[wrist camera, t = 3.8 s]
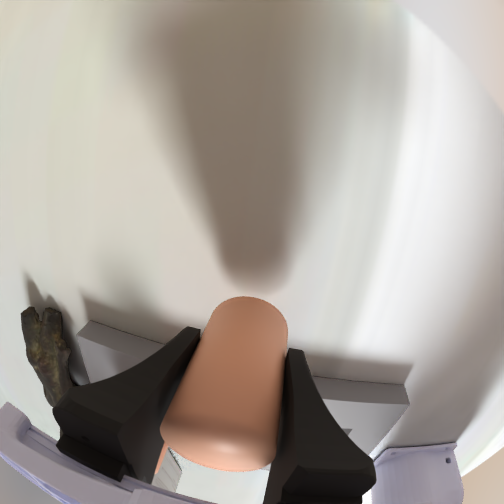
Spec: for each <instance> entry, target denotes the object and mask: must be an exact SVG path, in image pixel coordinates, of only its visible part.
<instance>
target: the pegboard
mask: <svg viewBox="0 0 504 504" xmlns="http://www.w3.org/2000/svg"><path fill="white" fill-rule="evenodd" d="M77 339H78V343H79V347H80V350H81V354H82V358H83V361H84V364H85V368H86V371H87V374H88V377H89V380H90V384H91V383H94V382H98V381H101V380H104V379H107V378H109V377H112V376H114V375H117V374H119V373H121V372H123V371H125V370H127V369H129V368H131V367H133V366H135V365H137V364H138V363H140V362H142V361H143V360H145V359H146V358H148V357H149V356H151V355H152V354H154V353H155V352H157V351H158V350H159V349H161V348H162V347H163V346H164V345H165V344H161V343H158V342H154V341H151V340H148V339H144V338H141V337H138V336H135V335H132V334H128V333H125V332H122V331H119V330H116V329H113V328H111V327H108V326H105V325H102V324H99V323H96V322H94V321H91V320H90V321H89V322H88V323H87V324H86V325H85V326H84V328H83V329H82V330H81V331H80V332H79V333H78V334H77ZM312 378H313V380H314V383H315V385H316V387H317V389H318V391H319V393H320V395H321V397H322V399H323V401H324V403H325V405H326V406H327V408H328V410H329V411H330V413H331V414H332V416H333V417H334V419H335V420H336V422H337V423H338V424H339V426H340V427H341V428H342V429H343V431H344V432H345V433H346V434H347V435H348V437H349V438H350V439H351V440H352V441H353V442H354V443H355V444H356V445H357V446H358V447H359V448H360V449H361V450H362V451H364V452H365V453H366V454H367V455H369V454H370V453H371V452H372V451H373V449H374V448H375V447H376V446H377V445H378V444H379V443H380V441H381V440H382V439H383V438H384V437H385V436H386V434H387V433H388V432H389V431H390V430H391V428H392V427H393V426H394V425H395V423H396V422H397V421H398V420H399V418H400V417H401V416H402V414H403V413H404V412H405V410H406V409H407V408H408V406H409V405H410V403H409V400H408V396H407V393H406V390H405V386H404V385H398V384H382V383H370V382H359V381H349V380H340V379H331V378H323V377H316V376H312ZM168 448H170V447H169V446H168ZM270 467H271V463H270V464H269V465H267V466H266V467H263V468H261V469H262V470H268V471H270Z"/></svg>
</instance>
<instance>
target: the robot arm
mask: <svg viewBox="0 0 504 504" xmlns="http://www.w3.org/2000/svg"><path fill="white" fill-rule="evenodd" d="M200 330H201V329H196V328H192V327H186V328H185V329H183V330H182V331H181V332H180V333H179V334H178V335H177V336H176V337H174V338H173V339H172V340H171V341H170V342H168V343H167V344H166V345H164V346H163V347H162V348H161V349H159V350H158V351H157V352H155V353H154V354H152V355H151V356H149V357H148V358H146V359H145V360H143V361H142V362H140V363H138V364H137V365H135V366H133V367H131V368H129V369H127V370H125V371H123V372H121V373H119V374H117V375H114V376H112V377H109V378H107V379H104V380H101V381H98V382H94V383H91V384H87V385H82V386H77V387H72V388H69V389H68V390H67V391H66V392H65V393H64V394H63V395H62V397H61V398H60V399H59V401H58V402H57V403H56V405H55V406H54V407H53V409H52V411H53V415H54V418H55V420H56V421H57V423H58V425H59V426H60V428H61V430H62V431H63V435H62V436H61V438H60V439H59V441H57V440H55V439H53V438H52V437H50V436H49V435H47V434H45V433H44V432H42V431H41V430H39V429H38V428H36V427H35V426H33V425H32V424H31V422H30V420H29V419H28V417H27V416H26V415H25V414H24V413H23V412H22V411H20V410H19V409H17V408H16V407H15V406H13V405H12V404H11V403H9V402H6V403H5V404H4V406H3V407H2V408H1V409H0V456H1V457H2V458H3V459H4V460H5V461H6V462H7V463H8V464H9V465H11V466H12V467H13V468H14V469H16V470H17V471H18V472H19V473H21V474H22V475H23V476H25V477H26V478H27V479H29V480H30V481H31V482H33V483H34V484H35V485H37V486H38V487H39V488H41V489H42V490H44V491H45V492H47V493H48V494H50V495H51V496H53V497H54V498H56V499H57V500H59V501H60V502H62V503H63V504H216V503H212V502H208V501H203V500H199V499H196V498H192V497H188V496H185V495H181V494H178V493H174V492H171V491H168V490H165V489H162V488H159V487H156V486H153V485H151V484H152V481H153V477H154V474H155V470H156V467H157V464H158V460H159V457H160V454H161V451H162V448H163V445H164V442H165V441H164V440H163V438H162V436H161V433H160V426H161V423H162V421H163V419H164V416H165V414H166V412H167V410H168V408H169V406H170V403H171V401H172V399H173V397H174V395H175V393H176V390H177V388H178V386H179V384H180V382H181V379H182V377H183V375H184V373H185V371H186V369H187V367H188V364H189V362H190V360H191V358H192V356H193V354H194V351H195V349H196V347H197V345H198V343H199V341H200ZM456 447H457V443H450V444H442V445H432V446H422V447H407V448H389V449H387V450H385V451H384V452H383V453H382V454H381V455H380V456H379V457H378V458H377V459H376V461H375V462H374V463H373V459H372V458H371V457H369V456H368V455H367V454H366V453H365V452H364V451H362V450H361V449H360V448H359V447H358V446H357V445H356V444H355V443H354V442H353V441H352V440H351V439H350V438H349V437H348V435H347V434H346V433H345V432H344V431H343V429H342V428H341V427H340V426H339V424H338V423H337V422H336V420H335V419H334V417H333V416H332V414H331V413H330V411H329V410H328V408H327V406H326V405H325V403H324V401H323V399H322V397H321V395H320V393H319V391H318V389H317V387H316V385H315V383H314V380H313V378H312V375H311V373H310V370H309V368H308V365H307V362H306V358H305V355H304V352H303V351H302V350H298V349H292V348H289V350H288V353H287V356H286V361H285V373H284V384H283V394H282V404H281V414H280V423H279V432H278V440H277V448H276V456H275V459H274V460H273V461H272V462H271V467H270V472H269V477H268V482H267V487H266V492H265V496H264V501H263V504H362V495H363V494H365V493H366V492H367V491H368V490H370V489H371V494H372V504H462V502H463V496H464V491H463V484H462V480H461V476H460V472H459V469H458V465H457V461H456V458H455V454H454V451H453V450H454V449H455V448H456Z"/></svg>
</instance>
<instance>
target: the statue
mask: <svg viewBox="0 0 504 504" xmlns="http://www.w3.org/2000/svg"><path fill="white" fill-rule="evenodd" d="M21 323H22V331H23V336H24V340H25V343H26V354H27V358H28V361H29V363H30V364H31V365H32V366H33V368H34V370H35V372H36V374H37V376H38V378H39V379H40V381H41V382H42V384H43V388H44V394H45V397H46V399H47V401H48V403H49V404H50V405H51V406H52V407H54V406H55V405H56V403H57V402H58V401H59V399H60V398H61V397H62V395H63V394H64V393H65V392H66V391H67V390H68V389H69V388H72V387H77V386H76V385H75V384H74V383H73V382H72V381H71V380H70V378H69V376H70V374H69V370H68V362H67V361H68V357H69V355H70V353H71V350H70V348H67V343H66V342H65V341H64V340H63V339H62V328H61V312H59V311H56V310H53V309H51V308H45V311H44V315H43V319H42V321H40V320H39V315H38V313H37V312H36V311H35V308H34V307H30V306H29V307H28V308H27V309H26V310H24V311H23V312H22V313H21ZM62 435H63V431H62V430H61V428H60V438H61V436H62Z"/></svg>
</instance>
